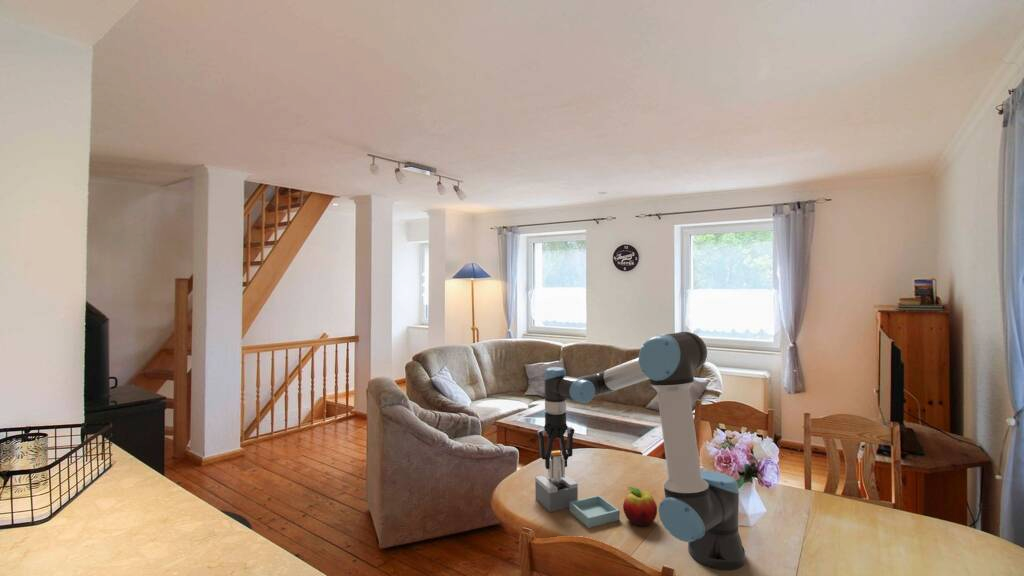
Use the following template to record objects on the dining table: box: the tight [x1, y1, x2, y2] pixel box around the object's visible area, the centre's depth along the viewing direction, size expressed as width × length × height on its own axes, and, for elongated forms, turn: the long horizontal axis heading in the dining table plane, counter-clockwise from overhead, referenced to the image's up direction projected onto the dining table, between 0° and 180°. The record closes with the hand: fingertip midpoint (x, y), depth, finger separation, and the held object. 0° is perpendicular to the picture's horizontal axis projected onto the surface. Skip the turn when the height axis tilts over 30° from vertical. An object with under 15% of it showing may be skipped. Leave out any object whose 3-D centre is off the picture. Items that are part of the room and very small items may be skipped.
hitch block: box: [534, 473, 579, 513], centre depth 171 cm, size 11×11×8 cm
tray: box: [568, 494, 621, 529], centre depth 162 cm, size 12×12×3 cm
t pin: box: [550, 449, 563, 490], centre depth 171 cm, size 7×4×18 cm, turn 103°
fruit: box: [622, 486, 658, 527], centre depth 157 cm, size 11×11×10 cm
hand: (556, 476), depth 171 cm, fingers closed on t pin, 4 cm apart
